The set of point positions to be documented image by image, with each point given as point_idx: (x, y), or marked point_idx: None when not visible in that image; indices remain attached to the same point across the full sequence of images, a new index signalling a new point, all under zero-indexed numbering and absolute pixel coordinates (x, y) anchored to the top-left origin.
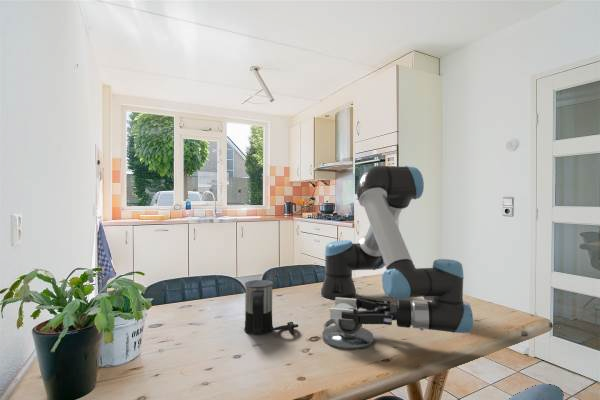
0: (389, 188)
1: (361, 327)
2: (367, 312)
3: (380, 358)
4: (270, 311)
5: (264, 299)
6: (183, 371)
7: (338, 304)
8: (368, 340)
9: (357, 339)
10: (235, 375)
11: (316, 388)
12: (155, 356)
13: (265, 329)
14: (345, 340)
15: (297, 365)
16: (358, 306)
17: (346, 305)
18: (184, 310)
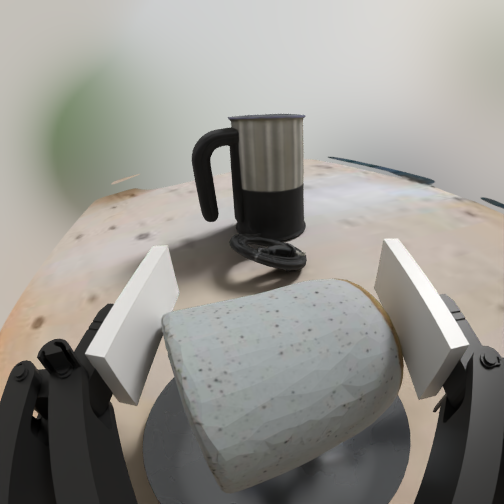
0: None
1: (401, 476)
2: (54, 475)
3: None
4: (264, 192)
5: (241, 153)
6: (113, 216)
7: (329, 280)
8: None
9: None
10: (84, 251)
11: (4, 344)
12: (157, 193)
13: (247, 229)
14: None
15: (82, 313)
16: (442, 405)
17: (272, 315)
18: (307, 168)
